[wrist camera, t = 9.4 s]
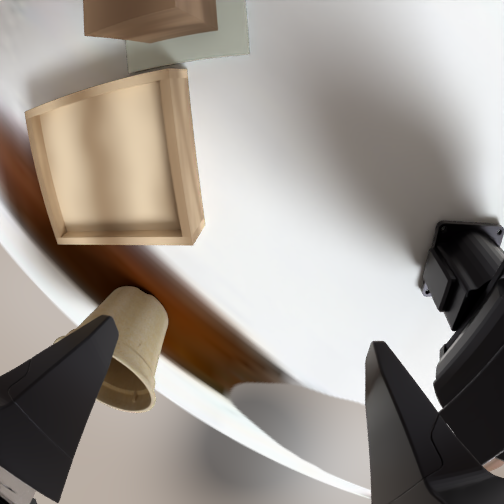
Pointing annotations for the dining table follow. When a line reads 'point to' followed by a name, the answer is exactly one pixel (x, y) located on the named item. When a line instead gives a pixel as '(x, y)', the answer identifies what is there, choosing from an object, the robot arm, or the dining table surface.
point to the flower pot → (131, 348)
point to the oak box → (120, 162)
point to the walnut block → (148, 19)
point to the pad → (196, 41)
